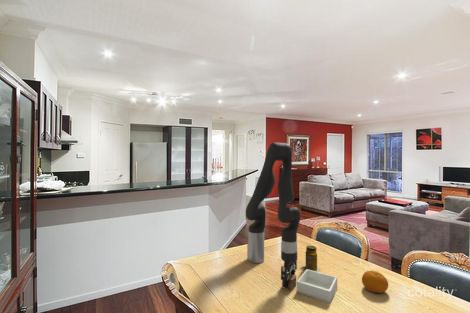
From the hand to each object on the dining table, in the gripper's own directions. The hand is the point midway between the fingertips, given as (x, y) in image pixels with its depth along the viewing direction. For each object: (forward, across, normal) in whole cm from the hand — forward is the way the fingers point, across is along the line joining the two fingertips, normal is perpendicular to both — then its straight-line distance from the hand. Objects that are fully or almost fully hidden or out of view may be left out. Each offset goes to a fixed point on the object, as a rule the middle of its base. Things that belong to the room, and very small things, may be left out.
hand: (289, 283), depth 114 cm
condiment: (+2, -23, +3) cm, 23 cm away
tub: (+1, -4, +12) cm, 13 cm away
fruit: (+2, -19, +34) cm, 39 cm away
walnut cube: (+2, 0, 0) cm, 2 cm away
